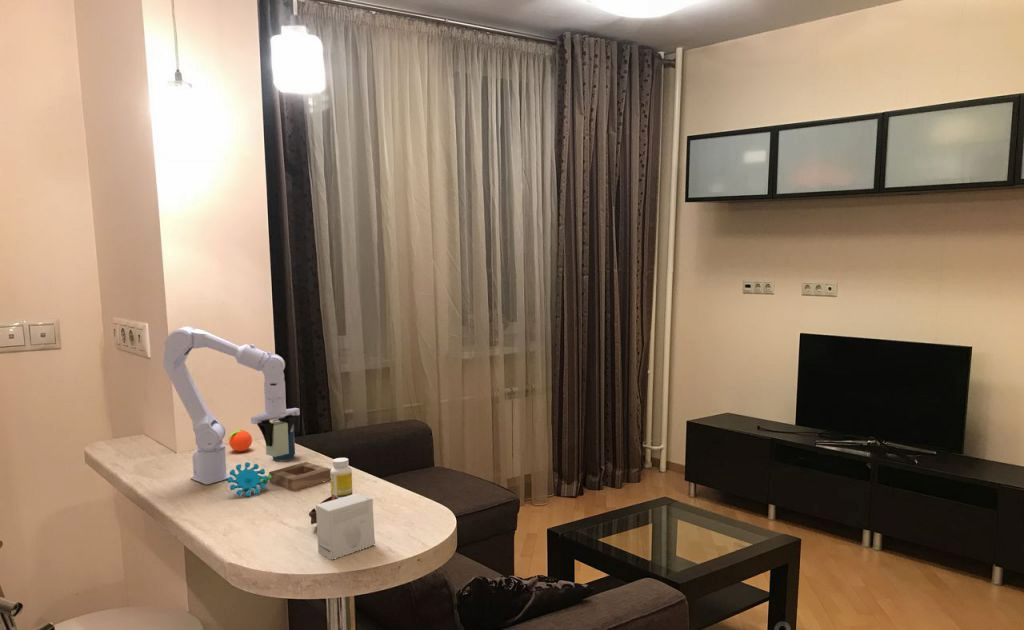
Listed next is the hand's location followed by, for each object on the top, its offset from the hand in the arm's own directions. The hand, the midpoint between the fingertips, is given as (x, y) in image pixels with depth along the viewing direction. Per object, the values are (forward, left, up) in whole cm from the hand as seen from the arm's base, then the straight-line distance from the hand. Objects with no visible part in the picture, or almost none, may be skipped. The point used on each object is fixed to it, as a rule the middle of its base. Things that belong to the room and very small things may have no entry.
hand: (277, 443), depth 202 cm
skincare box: (+59, -21, -9) cm, 63 cm away
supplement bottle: (+31, -1, -9) cm, 32 cm away
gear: (+9, -14, -9) cm, 19 cm away
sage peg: (0, 0, -3) cm, 3 cm away
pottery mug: (+47, -14, -9) cm, 50 cm away
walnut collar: (+11, 0, -9) cm, 14 cm away
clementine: (-32, +6, -9) cm, 34 cm away
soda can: (-13, +10, -9) cm, 19 cm away
